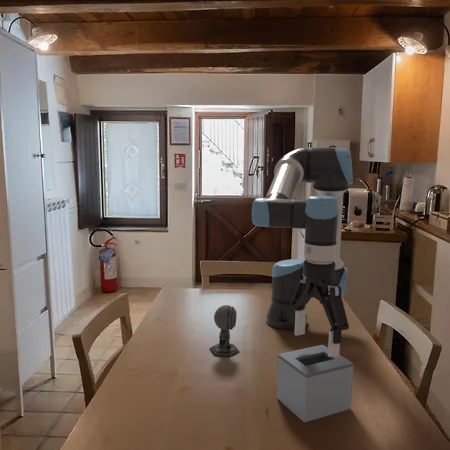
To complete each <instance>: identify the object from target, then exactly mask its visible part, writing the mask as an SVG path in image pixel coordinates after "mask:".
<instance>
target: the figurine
mask: <svg viewBox="0 0 450 450" xmlns="http://www.w3.org/2000/svg"><path fill="white" fill-rule="evenodd" d="M213 315H214V316H213V319H214V320H213V321H214V324H215V325H216V327H218V329H220V332H219V336H218V339H219V343H217V344H214V345H212V346H211V347H210V348H209V351H210V353H211V354H212V356H213V357H220V358H231V357H234V356H235V355H237V354H240V350H239V348H238V347H236V345H235V344H233V343H230V339H231V334H230V331H231V330H233V329H234V328H235V327H236V324H237V318H238V317H237V310H236V309H235V307H234V306H233V305H232V306H231V305H228V304H227V305H225V304H224V305H221V306H219V307H218V308H217V309H216V310H215V312H214V314H213Z"/></svg>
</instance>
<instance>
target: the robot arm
mask: <svg viewBox="0 0 450 450" xmlns="http://www.w3.org/2000/svg"><path fill="white" fill-rule="evenodd" d="M351 153H352V152H351V150H349V149H348V148H344V147H343V148H342V147H300V148H296V149H294V150H292V151H289V152H288V153H286V154H285V155H283V156H282V157H281V158H280V159H279V160H278V161H277V162H276V164H275V166H274V169H273V175H274V177H273V178H272V181H271V184H270V187H269V189H268V191H267V193H266V196H265V197H259V198H255V199H254V200H253V202H252V206H251V220H252V224H253V225H254V226H255V227H256V226H257V227H262V228H263V227H264V228H280V229H281V228H282V229H284V228H285V229H287V228H288V229H301V230H304V249H303V258H304V259H305V260H303V259H299V258H298V259H296V258H294V259H293V258H292V259H284V260H280V261H277V262H276V263H274V264H273V265H272V273H271V302H270V304H269V307H268V310H267V313H266V316H265V317H266V318H265V319H266V324H267V325H268V326H271V327H273V328H277V329H280V330H281V329H282V330H294V336H296V337H297V336H302V335H306V326H307V325H308V315H307V310H306V307H307V304H308V303H309V302H310V301H311V299H312V298H313V299H316V301H319V304H320V305H322V306H323V310H324V312H325V315H326V317H327V319H328V322H329V324H330V327H331V328H329V329H328V343H327V348H328V356H329V357H332V356H336V355H340V349H341V347H340V345H341V343H342V334H343V331H347V330H349V328H350V325H349V322H348V318H347V314H346V309H345V305H344V302H343V299H342V298H343V297H344V295H345V291H346V290H345V289H346V285H347V280H348V274H349V273H348V270H349V269H348V267H345V263H344V261H343V260H342V259H341V242H342V224H343V223H342V222H343V221H342V220H343V207H344V206H343V204H344V193H346V192H347V191H348V190H349V185H352V184H353V183H354V180H353V179H354V176H353V163H352V162H353V161H352V154H351ZM300 183H306V184H307V183H309V184H312V189H313V190H314V191H315V192H316V195H310V196H308V197H307V198H306V199H295V194H296V192H297V191H296V190H297V188H298V185H299V184H300Z"/></svg>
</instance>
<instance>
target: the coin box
mask: <svg viewBox="0 0 450 450" xmlns="http://www.w3.org/2000/svg"><path fill="white" fill-rule="evenodd" d="M276 375H277V378H276V381H277V383H276V384H277V385H276V399H277V400H278V401H280V403H282V404H283V405H284V406H285V407H286V408H287V409H288V410H290V412H291V413H293V414H294V415H295V416H296V417H297V418H298V419H299V420H300V421H302V422H303V423H307V422H312V421H315V420H318V419H322V418H325V417H327V416H332V415H334V414H338V413H341V412H345V411H347V410H348V411H349V410H351V409H352V393H353V378H354V377H353V376H354V362H352V361H350V360H349V359H347V358H346V357H344V356H342V355H341V354H339V355H336V356H332V357H329V356H328V346H326V345H324V344H319V345H316V346H311V347H310V346H309V347H305V348H300V349H297V350H292V351H291V350H290V351H287V352H282V353H278V354H277V374H276Z"/></svg>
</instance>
